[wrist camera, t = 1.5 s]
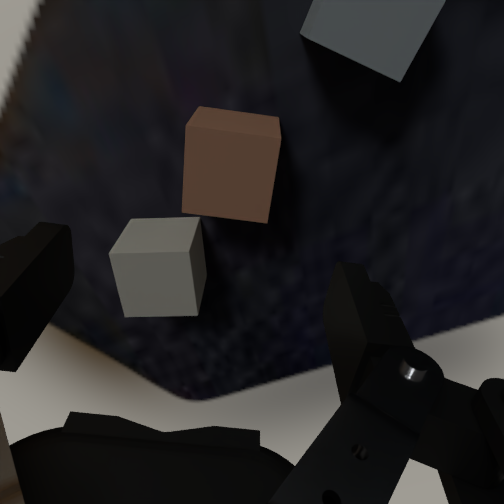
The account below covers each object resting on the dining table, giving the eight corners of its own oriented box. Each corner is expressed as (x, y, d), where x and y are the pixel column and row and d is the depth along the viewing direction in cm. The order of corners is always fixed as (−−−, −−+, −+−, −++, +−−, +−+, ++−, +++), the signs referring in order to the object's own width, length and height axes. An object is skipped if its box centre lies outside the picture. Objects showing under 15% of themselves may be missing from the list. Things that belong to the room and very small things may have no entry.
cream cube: (200, 216, 29) (188, 251, 25) (207, 274, 32) (197, 315, 28) (131, 218, 30) (108, 253, 25) (143, 276, 32) (124, 317, 28)
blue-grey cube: (425, -25, 22) (464, -34, 17) (376, 70, 24) (400, 82, 20) (342, -70, 21) (361, -91, 17) (299, 33, 23) (306, 38, 19)
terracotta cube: (278, 117, 26) (281, 138, 21) (266, 190, 28) (267, 223, 24) (199, 106, 26) (185, 125, 21) (194, 181, 28) (181, 212, 24)
